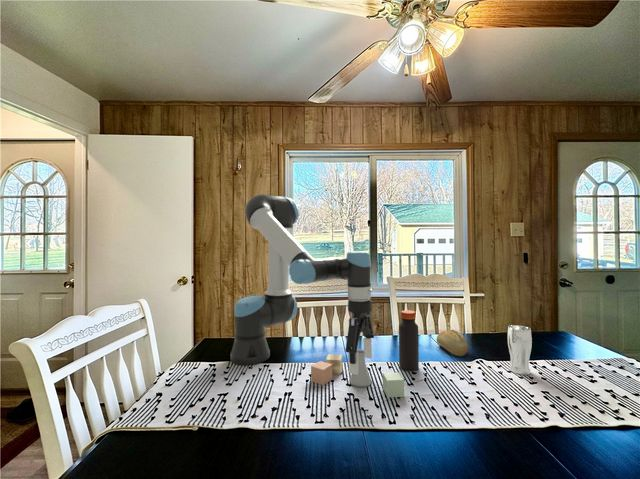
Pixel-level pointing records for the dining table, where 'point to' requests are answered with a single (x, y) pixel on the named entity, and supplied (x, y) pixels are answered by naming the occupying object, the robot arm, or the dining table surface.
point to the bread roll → (453, 342)
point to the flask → (361, 372)
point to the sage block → (393, 384)
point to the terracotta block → (321, 372)
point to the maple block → (335, 363)
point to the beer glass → (519, 348)
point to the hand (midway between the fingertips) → (361, 365)
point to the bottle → (408, 342)
